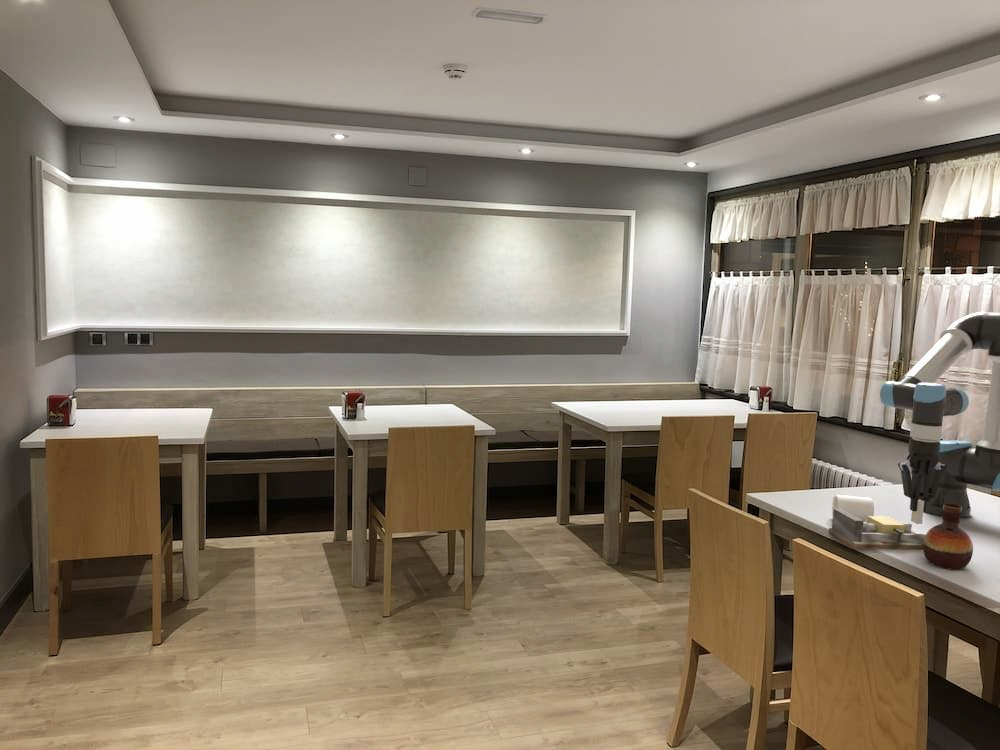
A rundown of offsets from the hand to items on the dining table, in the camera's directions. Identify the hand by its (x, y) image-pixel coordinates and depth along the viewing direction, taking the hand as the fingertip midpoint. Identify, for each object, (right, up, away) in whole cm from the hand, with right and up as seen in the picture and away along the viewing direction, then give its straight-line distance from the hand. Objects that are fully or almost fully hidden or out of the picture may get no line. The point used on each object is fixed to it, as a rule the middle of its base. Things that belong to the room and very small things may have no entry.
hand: (916, 522), depth 216 cm
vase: (-2, -8, -18) cm, 19 cm away
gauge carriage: (-11, -4, -2) cm, 12 cm away
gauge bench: (-10, -5, 0) cm, 11 cm away
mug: (-10, -3, +18) cm, 21 cm away
